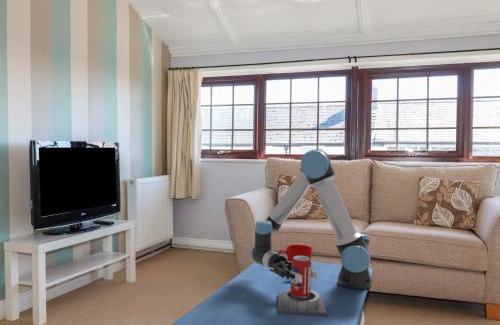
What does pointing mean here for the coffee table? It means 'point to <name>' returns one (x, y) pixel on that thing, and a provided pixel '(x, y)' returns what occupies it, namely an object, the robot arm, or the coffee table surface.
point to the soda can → (303, 268)
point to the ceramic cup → (297, 251)
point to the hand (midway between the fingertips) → (309, 277)
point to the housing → (301, 304)
